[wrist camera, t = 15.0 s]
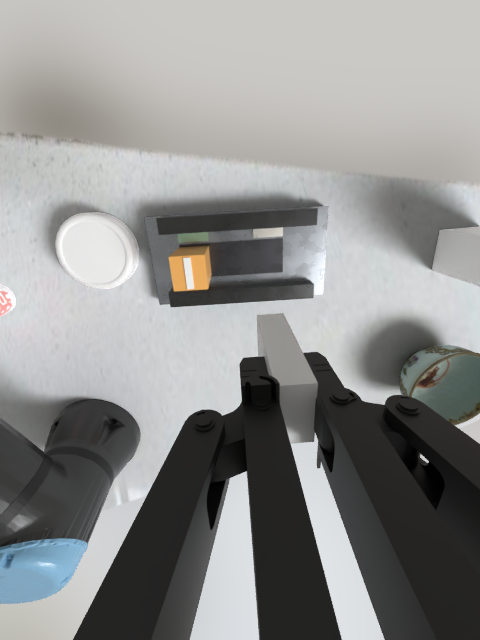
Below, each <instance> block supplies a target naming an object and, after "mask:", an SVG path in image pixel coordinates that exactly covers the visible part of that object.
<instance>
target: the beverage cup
mask: <svg viewBox="0 0 480 640" xmlns="http://www.w3.org/2000/svg"><path fill="white" fill-rule="evenodd" d="M15 305H16V299H15V296H14V294H13V293H12V291H11V290H10V289H8V288H7V287H6V286H4V285H2V284H0V317H1V316H3V315H5V314H6V313H8V312H10V311H11V310H12V309H14V307H15Z"/></svg>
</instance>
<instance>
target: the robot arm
mask: <svg viewBox="0 0 480 640" xmlns="http://www.w3.org/2000/svg"><path fill="white" fill-rule="evenodd" d="M257 333H258V357H249V358H243V360H242V361H241V363H240V378H241V393H242V402H241V404H240V406H239V407H238V408H237V409H236V410H235V411H233V412H231V413H229V414H226V415H223V416H222V415H221V414H220V413H218V412H217V411H214V410H201V411H198V412H195V413H194V414H192V415H190V416H189V417H188V419H187V420H186V421H185V423H184V425H183V427H182V429H181V431H180V433H179V435H178V437H177V439H176V441H175V443H174V444H173V446H172V448H171V450H170V452H169V454H168V456H167V458H166V460H165V462H164V464H163V466H162V468H161V470H160V472H159V474H158V476H157V477H156V479H155V481H154V483H153V485H152V487H151V489H150V491H149V493H148V495H147V497H146V499H145V501H144V503H143V505H142V507H141V509H140V511H139V513H138V514H137V516H136V518H135V520H134V522H133V524H132V526H131V528H130V530H129V532H128V534H127V536H126V538H125V540H124V542H123V544H122V546H121V547H120V549H119V551H118V554H117V555H116V557H115V559H114V561H113V563H112V565H111V567H110V569H109V571H108V573H107V575H106V577H105V578H104V580H103V582H102V584H101V586H100V588H99V590H98V592H97V594H96V596H95V598H94V600H93V602H92V604H91V606H90V608H89V610H88V612H87V613H86V615H85V617H84V619H83V621H82V624H81V625H80V627H79V629H78V631H77V633H76V635H75V637H74V639H73V640H189V639H190V635H191V631H192V628H193V624H194V619H195V616H196V612H197V608H198V604H199V600H200V596H201V592H202V587H203V583H204V580H205V576H206V571H207V567H208V564H209V560H210V556H211V552H212V548H213V544H214V540H215V535H216V532H217V528H218V524H219V520H220V516H221V512H222V508H223V504H224V500H225V496H226V492H227V488H228V484H229V478H231V477H233V476H235V475H238V474H241V473H243V472H245V471H247V478H248V491H249V505H250V519H251V532H252V544H253V545H252V546H253V559H254V573H255V587H256V600H257V614H258V628H259V640H342V639H341V635H340V631H339V628H338V624H337V621H336V616H335V613H334V608H333V605H332V601H331V597H330V593H329V590H328V586H327V582H326V578H325V574H324V570H323V566H322V563H321V559H320V555H319V551H318V548H317V544H316V540H315V536H314V532H313V528H312V525H311V521H310V517H309V513H308V509H307V505H306V502H305V498H304V494H303V490H302V487H301V482H300V479H299V475H298V471H297V467H296V464H295V460H294V456H293V452H292V448H291V444H290V443H302V442H314V435H315V433H316V435H317V438H318V452H317V468H320V465H321V462H322V465H323V468H324V470H325V473H326V476H327V479H328V482H329V484H330V487H331V490H332V493H333V495H334V498H335V501H336V504H337V507H338V509H339V512H340V515H341V518H342V521H343V524H344V527H345V529H346V532H347V535H348V538H349V541H350V543H351V546H352V549H353V552H354V555H355V557H356V560H357V563H358V566H359V569H360V571H361V574H362V577H363V579H364V583H365V585H366V588H367V591H368V594H369V597H370V599H371V602H372V605H373V608H374V611H375V613H376V616H377V619H378V621H379V625H380V627H381V630H382V633H383V636H384V639H385V640H480V444H479V443H477V442H476V441H475V440H473V439H472V438H471V437H469V436H468V435H467V434H465V433H464V432H462V431H461V430H460V429H458V428H457V427H456V426H454V425H453V424H452V423H450V422H449V421H447V420H446V419H445V418H443V417H442V416H441V415H439V414H438V413H437V412H435V411H434V410H432V409H431V408H430V407H428V406H427V405H426V404H424V403H423V402H421V401H419V400H417V399H415V398H412V397H409V396H404V395H393V396H391V397H389V398H387V400H386V402H385V405H381V404H374V403H368V402H364V401H362V400H361V399H360V397H359V396H358V395H357V394H356V393H355V392H353V391H351V390H349V389H346V388H344V386H343V385H342V383H341V381H340V380H339V378H338V377H337V375H336V373H335V372H334V371H333V369H332V367H331V365H330V364H329V362H328V361H327V359H326V358H325V357H324V356H323V355H321V354H320V353H318V352H311V353H303V352H302V350H301V348H300V346H299V344H298V342H297V340H296V338H295V336H294V334H293V332H292V330H291V328H290V326H289V324H288V322H287V320H286V318H285V316H284V314H283V313H282V314H267V315H257ZM139 441H140V429H139V426H138V424H137V422H136V421H135V419H134V418H133V417H132V416H131V415H130V414H129V413H128V412H127V411H126V410H124V409H123V408H121V407H119V406H117V405H115V404H112V403H109V402H106V401H101V400H84V401H79V402H76V403H73V404H71V405H69V406H68V407H66V408H65V409H64V410H63V411H62V412H61V413H60V415H59V416H58V417H57V418H56V420H55V421H54V423H53V425H52V427H51V430H50V433H49V436H48V439H47V443H46V446H45V449H44V452H43V451H42V450H40V449H39V448H38V447H37V446H35V445H34V444H33V443H32V442H30V441H29V440H28V439H27V438H25V437H24V436H23V435H22V434H20V433H19V432H18V431H17V430H15V429H14V428H13V427H12V426H10V425H9V424H8V423H7V422H5V421H4V420H3V419H2V418H0V603H2V604H12V603H25V602H32V601H36V600H40V599H43V598H46V597H49V596H51V595H53V594H55V593H57V592H58V591H60V590H61V589H62V588H63V587H64V586H65V585H66V584H67V583H68V582H69V581H70V579H71V578H72V576H73V574H74V572H75V570H76V568H77V566H78V564H79V562H80V560H81V558H82V556H83V554H84V552H85V551H86V549H87V546H88V541H89V539H90V537H91V534H92V532H93V529H94V527H95V524H96V522H97V519H98V517H99V515H100V512H101V510H102V507H103V505H104V502H105V500H106V497H107V495H108V492H109V490H110V487H111V485H112V483H113V480H114V479H115V478H116V476H117V475H118V474H119V473H120V472H121V470H122V469H123V468H124V467H125V465H126V464H127V463H128V462H129V461H130V460H131V459H132V457H133V456H134V454H135V452H136V450H137V447H138V444H139ZM420 454H422V455H423V456H424V457H425V458H426V459H427V460H428V461H429V463H426V462H425V461H423V460H422V459H421V458H420Z"/></svg>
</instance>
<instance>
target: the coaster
mask: <svg viewBox="0 0 480 640" xmlns="http://www.w3.org/2000/svg"><path fill="white" fill-rule="evenodd" d="M55 249H56V254H57V257H58V260H59V262H60V264H61V266H62V267H63V269H64V270H65V271H66V272H67V273H68V275H69V276H71V277H72V278H73V279H74V280H76V281H77V282H79V283H80V284H82V285H85V286H87V287H90V288H94V289H110V288H114V287H117V286H119V285H120V284H122V283H123V282H125V281H126V280H127V279H128V278H130V277H131V276H132V275H133V273H134V272H135V270H136V268H137V266H138V262H139V247H138V243H137V240H136V238H135V236H134V235H133V233H132V231H131V230H130V229H129V228H128V227H127V226H126V225H125V224H124V223H123V222H122V221H120V220H119V219H117V218H116V217H114V216H112V215H109V214H106V213H101V212H87V213H79V214H76V215H73V216H71V217H69V218H68V219H67V220H66V221H64V222H63V224H62V225H61V226H60V228H59V230H58V232H57V235H56V240H55Z"/></svg>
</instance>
